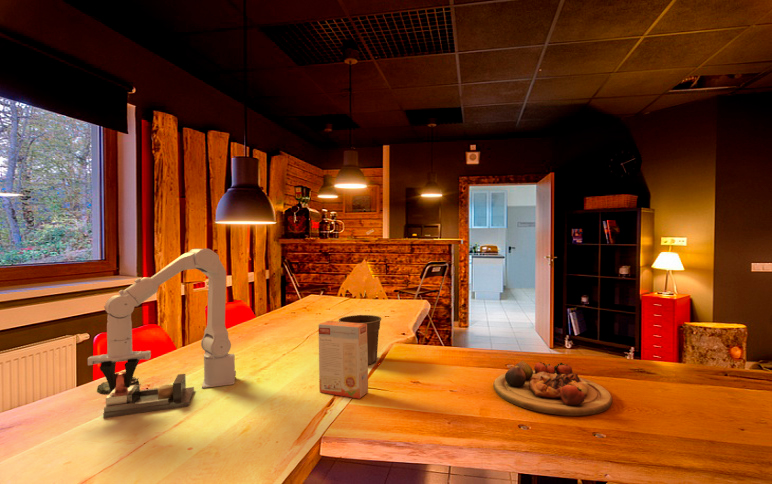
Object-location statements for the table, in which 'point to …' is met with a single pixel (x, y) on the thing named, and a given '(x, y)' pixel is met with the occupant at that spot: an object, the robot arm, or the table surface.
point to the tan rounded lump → (165, 392)
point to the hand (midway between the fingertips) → (120, 387)
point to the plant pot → (368, 332)
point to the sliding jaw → (122, 391)
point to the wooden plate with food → (552, 390)
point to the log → (105, 388)
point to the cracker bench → (154, 400)
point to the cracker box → (343, 359)
